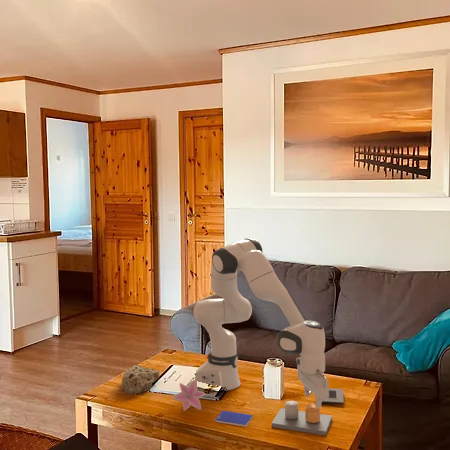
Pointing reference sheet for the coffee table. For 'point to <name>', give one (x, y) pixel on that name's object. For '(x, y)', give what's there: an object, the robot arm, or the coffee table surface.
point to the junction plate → (300, 420)
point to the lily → (189, 395)
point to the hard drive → (234, 418)
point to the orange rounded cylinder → (312, 413)
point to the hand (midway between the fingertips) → (312, 401)
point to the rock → (138, 379)
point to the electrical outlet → (335, 396)
